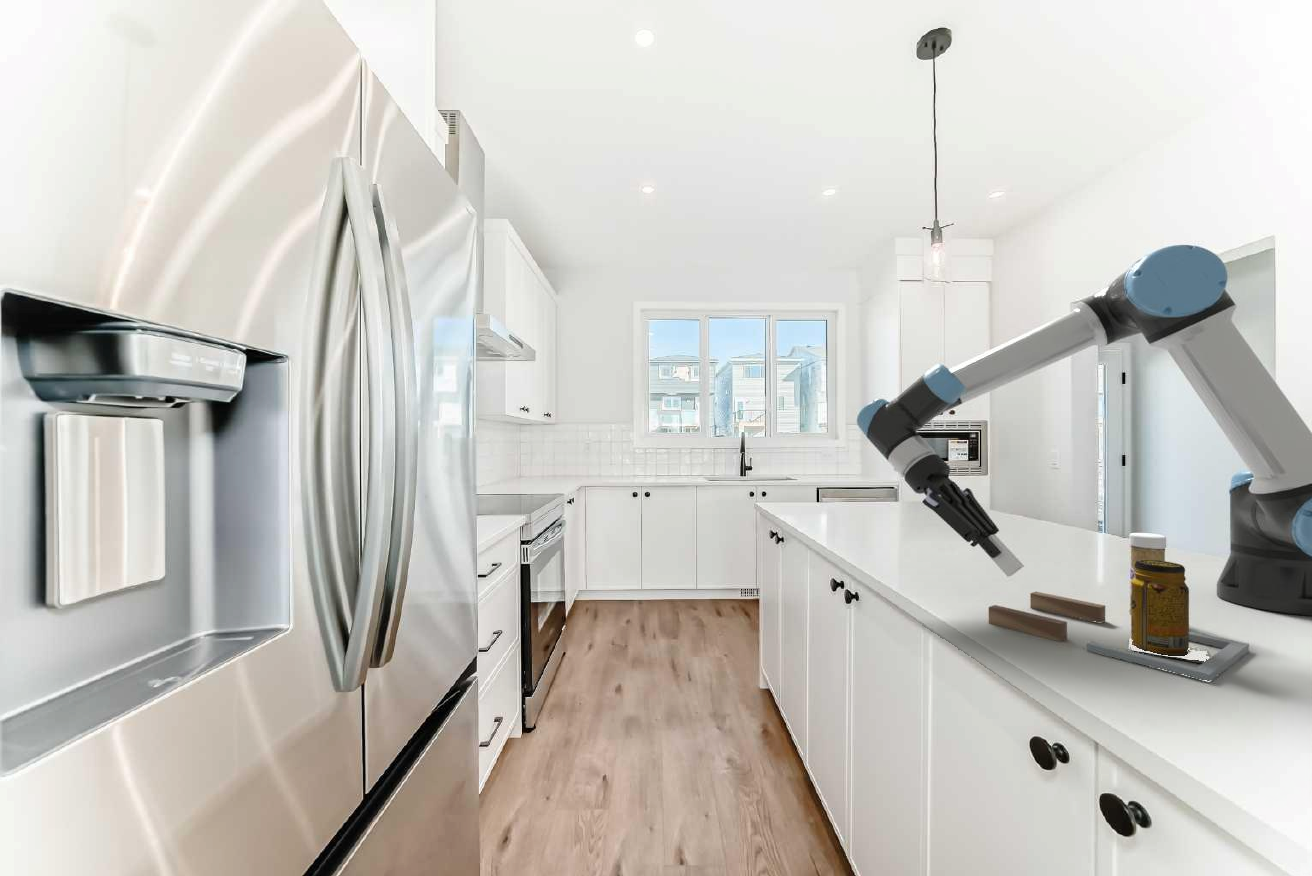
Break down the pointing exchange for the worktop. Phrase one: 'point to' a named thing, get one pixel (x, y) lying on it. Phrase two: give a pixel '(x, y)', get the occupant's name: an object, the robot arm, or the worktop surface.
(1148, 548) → the toothpick container
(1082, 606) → the wooden blocks
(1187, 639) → the condiment
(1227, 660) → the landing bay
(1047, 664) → the worktop surface
